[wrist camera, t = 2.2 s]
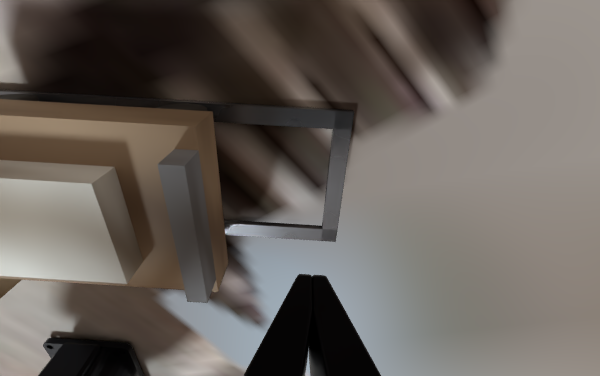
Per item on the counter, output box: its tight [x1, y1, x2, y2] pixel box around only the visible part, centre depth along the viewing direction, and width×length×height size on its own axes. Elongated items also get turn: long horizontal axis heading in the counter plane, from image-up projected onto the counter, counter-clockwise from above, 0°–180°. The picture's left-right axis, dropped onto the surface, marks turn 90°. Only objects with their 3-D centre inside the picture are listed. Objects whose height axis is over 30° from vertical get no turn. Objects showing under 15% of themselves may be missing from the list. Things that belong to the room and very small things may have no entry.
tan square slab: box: [0, 94, 228, 303], centre depth 12 cm, size 8×10×5 cm
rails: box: [0, 90, 354, 242], centre depth 14 cm, size 7×28×1 cm, turn 87°
